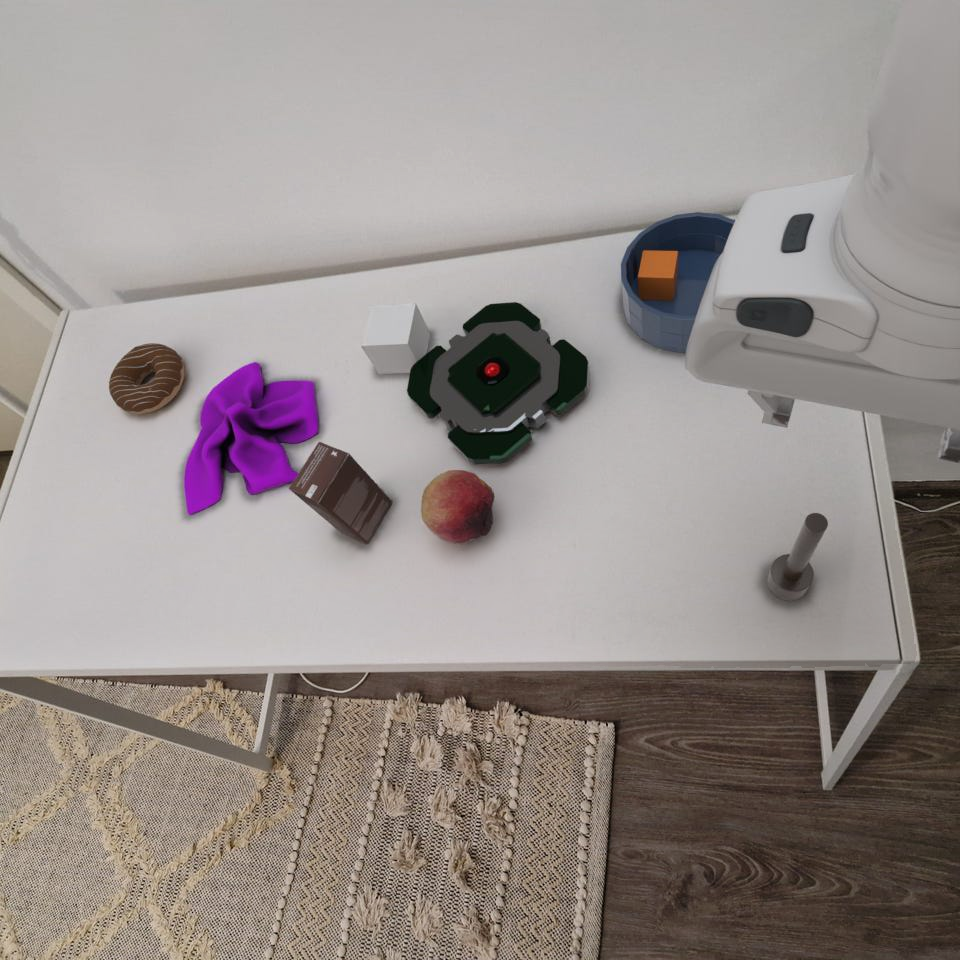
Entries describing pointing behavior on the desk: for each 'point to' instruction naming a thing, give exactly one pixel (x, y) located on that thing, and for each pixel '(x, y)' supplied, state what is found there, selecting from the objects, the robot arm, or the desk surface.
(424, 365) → the flat green button pad
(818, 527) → the stirrer
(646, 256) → the block
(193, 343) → the desk surface
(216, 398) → the cloth
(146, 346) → the donut
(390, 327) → the white cube
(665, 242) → the bowl
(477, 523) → the fruit
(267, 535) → the desk surface
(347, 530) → the box
